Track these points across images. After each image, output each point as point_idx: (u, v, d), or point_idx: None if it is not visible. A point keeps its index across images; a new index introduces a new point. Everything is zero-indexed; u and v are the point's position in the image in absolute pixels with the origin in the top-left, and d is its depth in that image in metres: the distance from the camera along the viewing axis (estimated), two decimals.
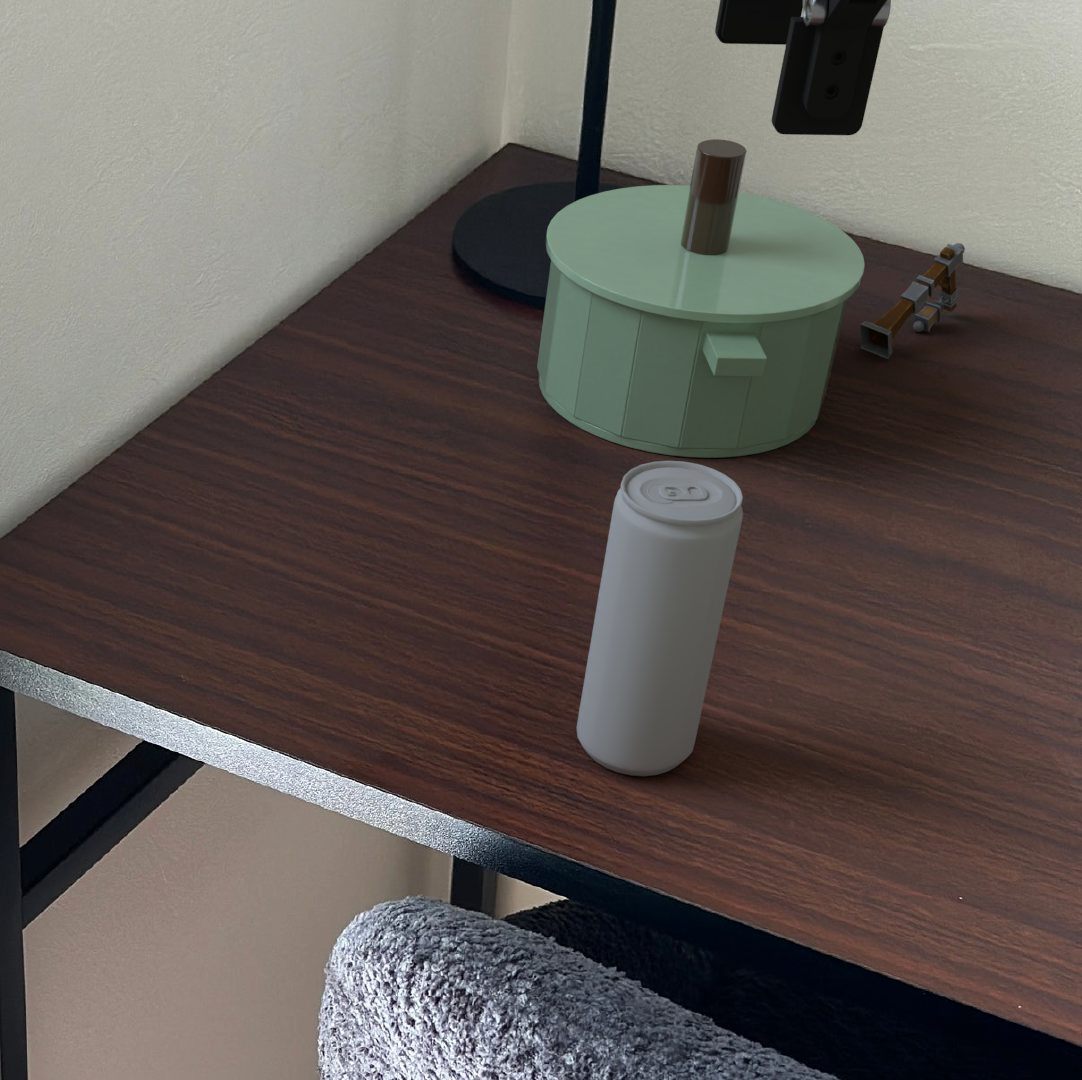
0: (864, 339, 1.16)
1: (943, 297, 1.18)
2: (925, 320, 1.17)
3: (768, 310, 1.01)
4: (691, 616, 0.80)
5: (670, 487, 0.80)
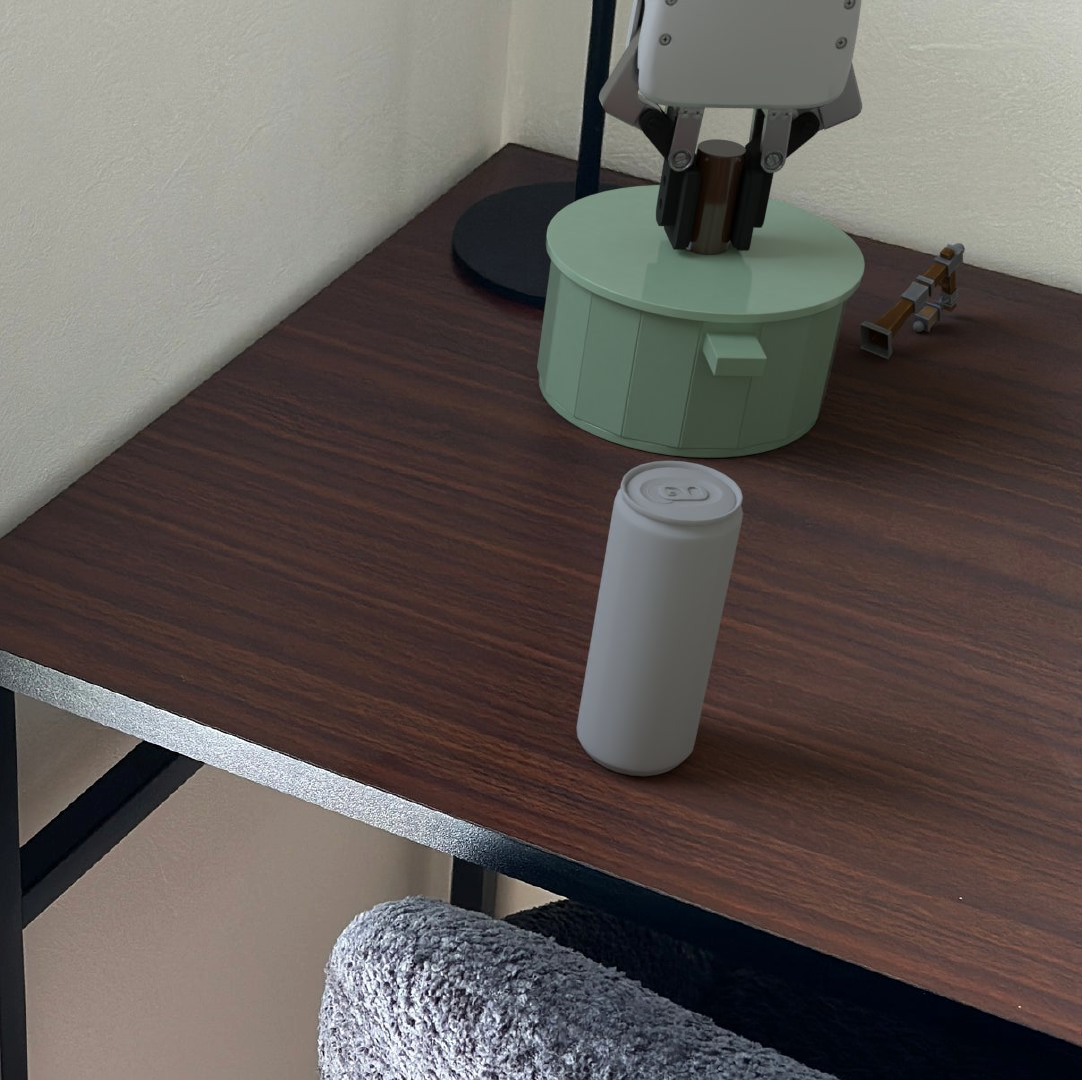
0: (864, 339, 1.16)
1: (943, 297, 1.18)
2: (925, 320, 1.17)
3: (768, 310, 1.01)
4: (691, 616, 0.80)
5: (670, 487, 0.80)
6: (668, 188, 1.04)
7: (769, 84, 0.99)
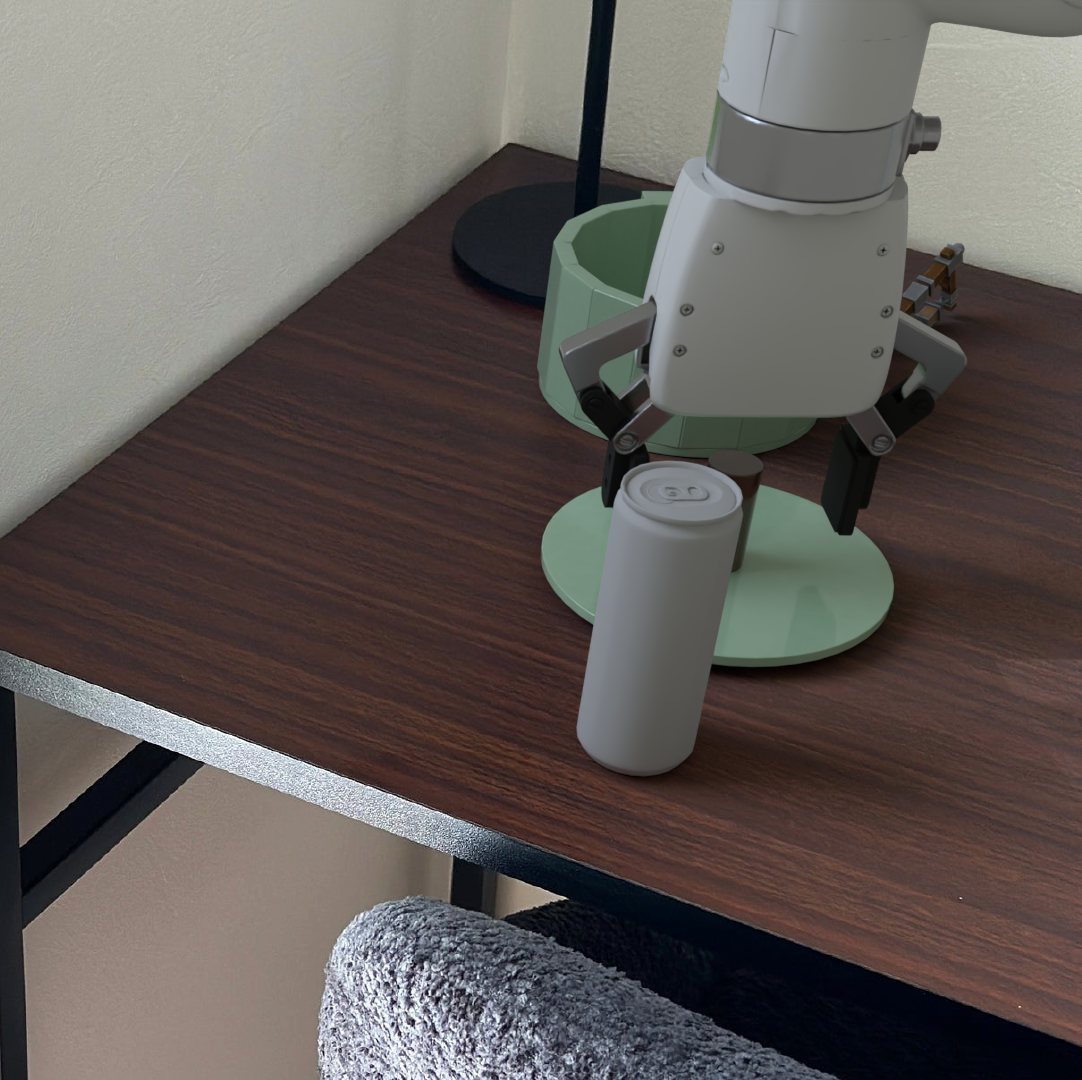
0: None
1: (943, 297, 1.18)
2: (925, 320, 1.17)
3: (788, 652, 0.91)
4: (691, 616, 0.80)
5: (670, 487, 0.80)
6: (613, 470, 0.92)
7: (796, 395, 0.89)
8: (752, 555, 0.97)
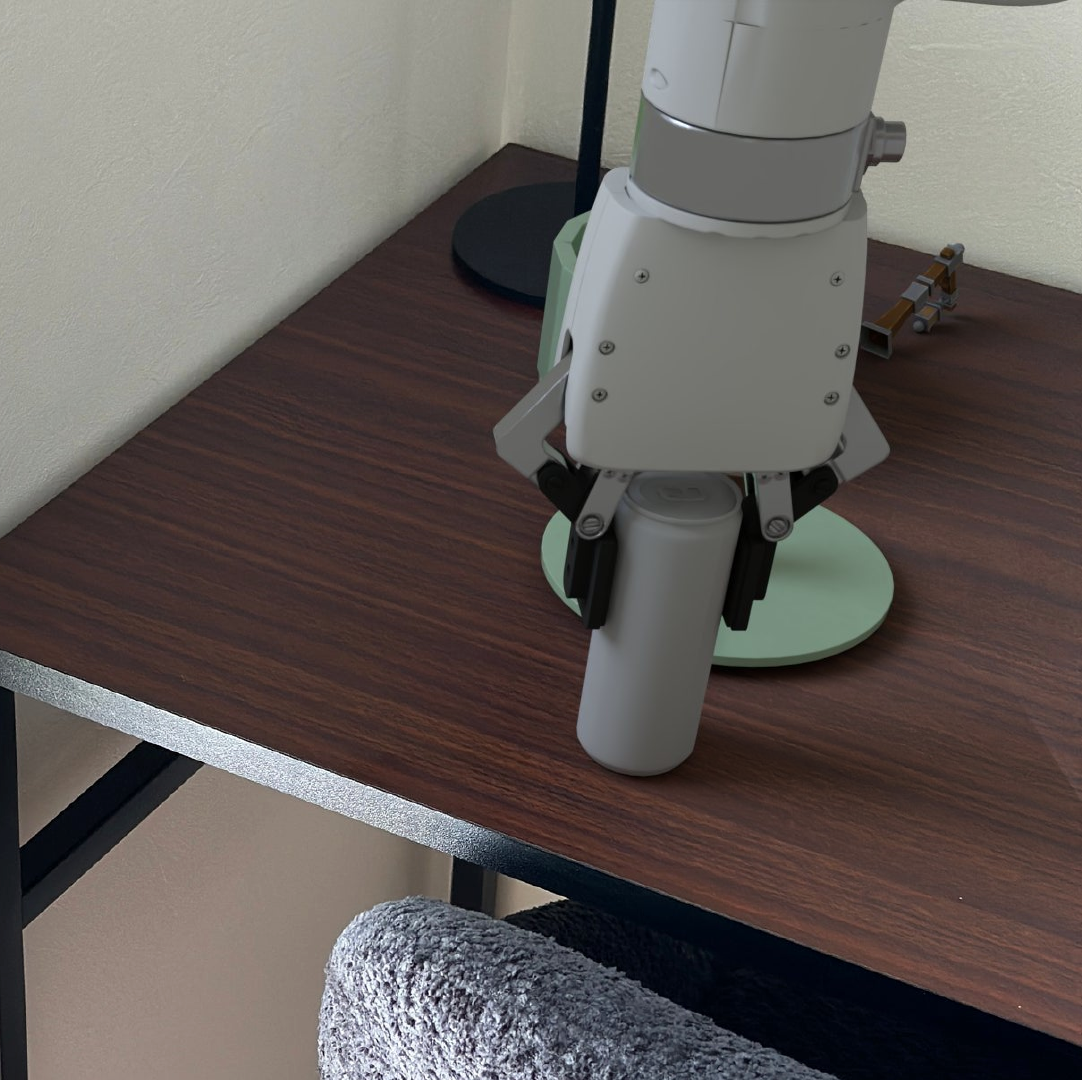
0: (864, 339, 1.16)
1: (943, 297, 1.18)
2: (925, 320, 1.17)
3: (788, 652, 0.91)
4: (691, 616, 0.80)
5: (669, 487, 0.80)
6: (577, 556, 0.80)
7: (737, 447, 0.76)
8: None
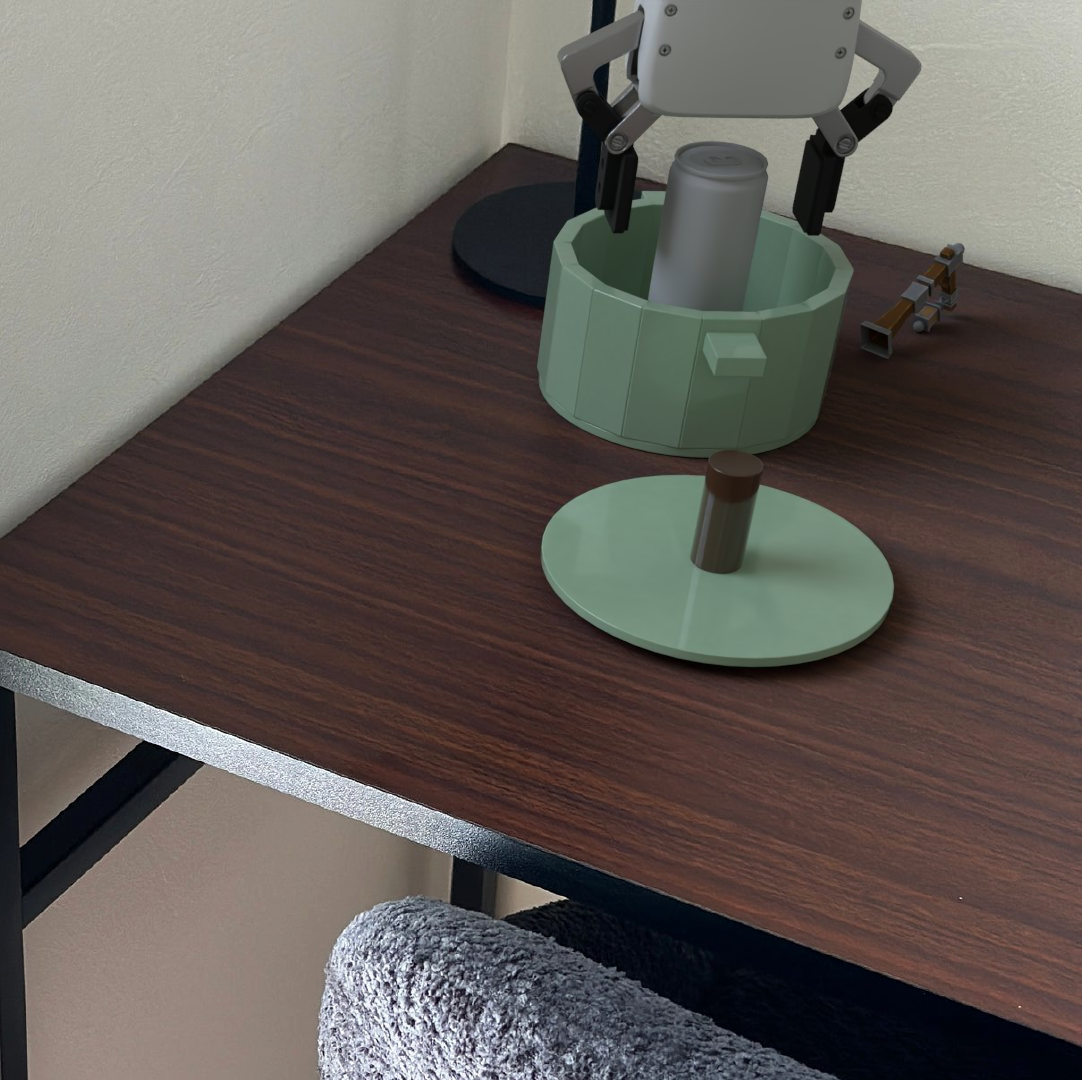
0: (864, 339, 1.16)
1: (943, 297, 1.18)
2: (925, 320, 1.17)
3: (788, 652, 0.91)
4: (728, 257, 1.05)
5: (712, 157, 1.04)
6: (606, 171, 1.03)
7: (769, 94, 1.00)
8: (752, 555, 0.97)
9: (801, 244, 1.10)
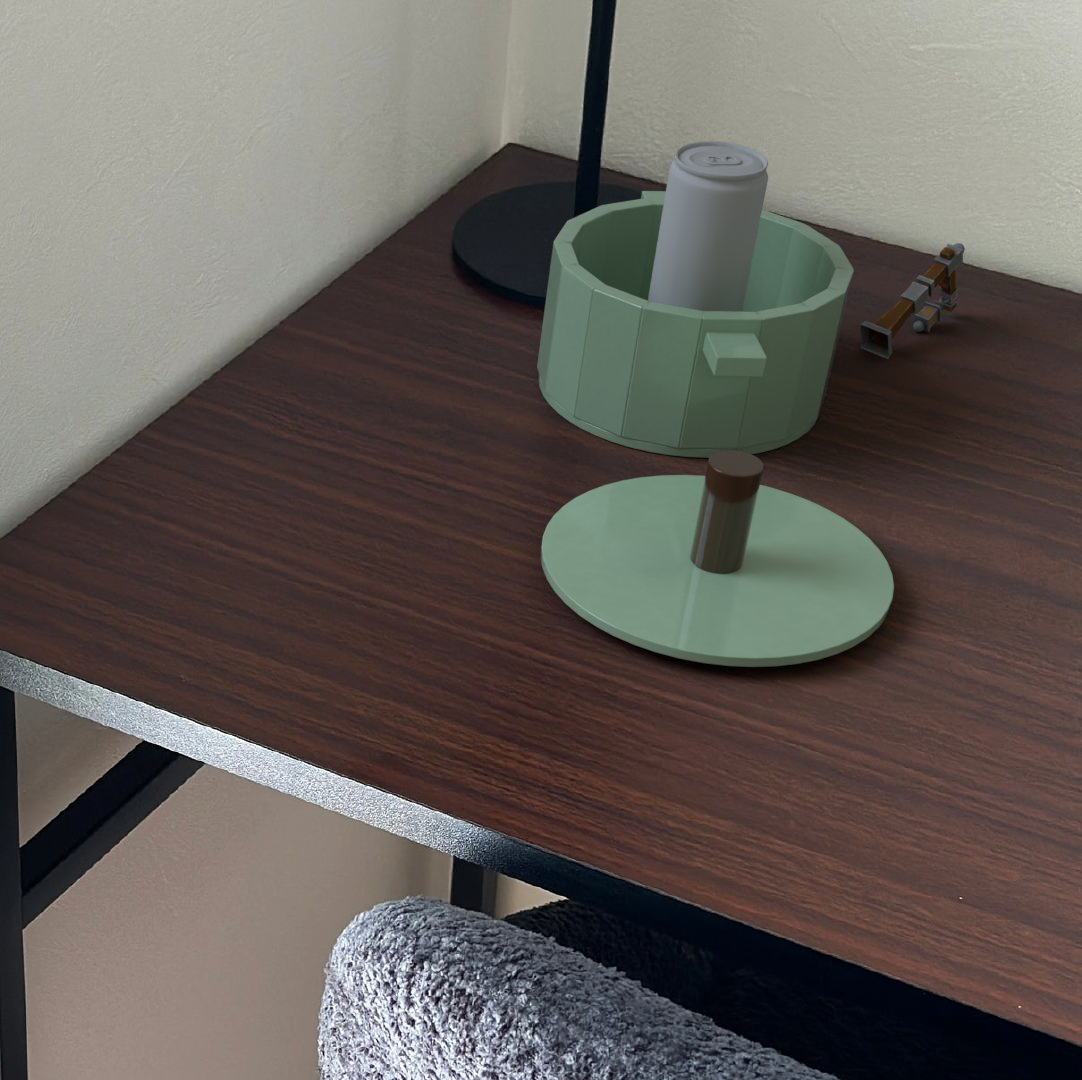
0: (864, 339, 1.16)
1: (943, 297, 1.18)
2: (925, 320, 1.17)
3: (788, 652, 0.91)
4: (728, 257, 1.05)
5: (712, 157, 1.04)
6: None
7: None
8: (752, 555, 0.97)
9: (801, 244, 1.10)
